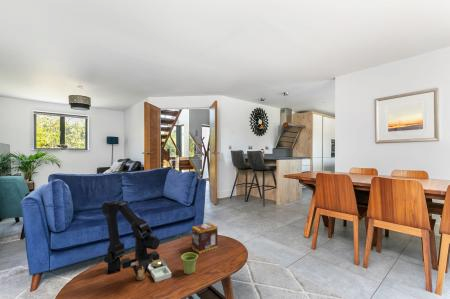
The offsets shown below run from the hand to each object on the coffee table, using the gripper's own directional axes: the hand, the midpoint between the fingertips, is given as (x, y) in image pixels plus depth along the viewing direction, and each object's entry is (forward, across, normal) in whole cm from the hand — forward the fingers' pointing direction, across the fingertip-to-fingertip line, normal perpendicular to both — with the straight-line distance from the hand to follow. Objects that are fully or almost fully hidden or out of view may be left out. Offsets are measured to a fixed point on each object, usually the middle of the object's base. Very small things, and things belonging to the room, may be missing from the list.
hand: (140, 275), depth 118 cm
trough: (+2, +10, -4) cm, 11 cm away
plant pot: (+2, +25, -8) cm, 26 cm away
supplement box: (+2, +47, +14) cm, 49 cm away
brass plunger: (+1, +11, +7) cm, 13 cm away
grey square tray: (+2, +11, +7) cm, 13 cm away
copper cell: (+2, 0, 0) cm, 2 cm away
